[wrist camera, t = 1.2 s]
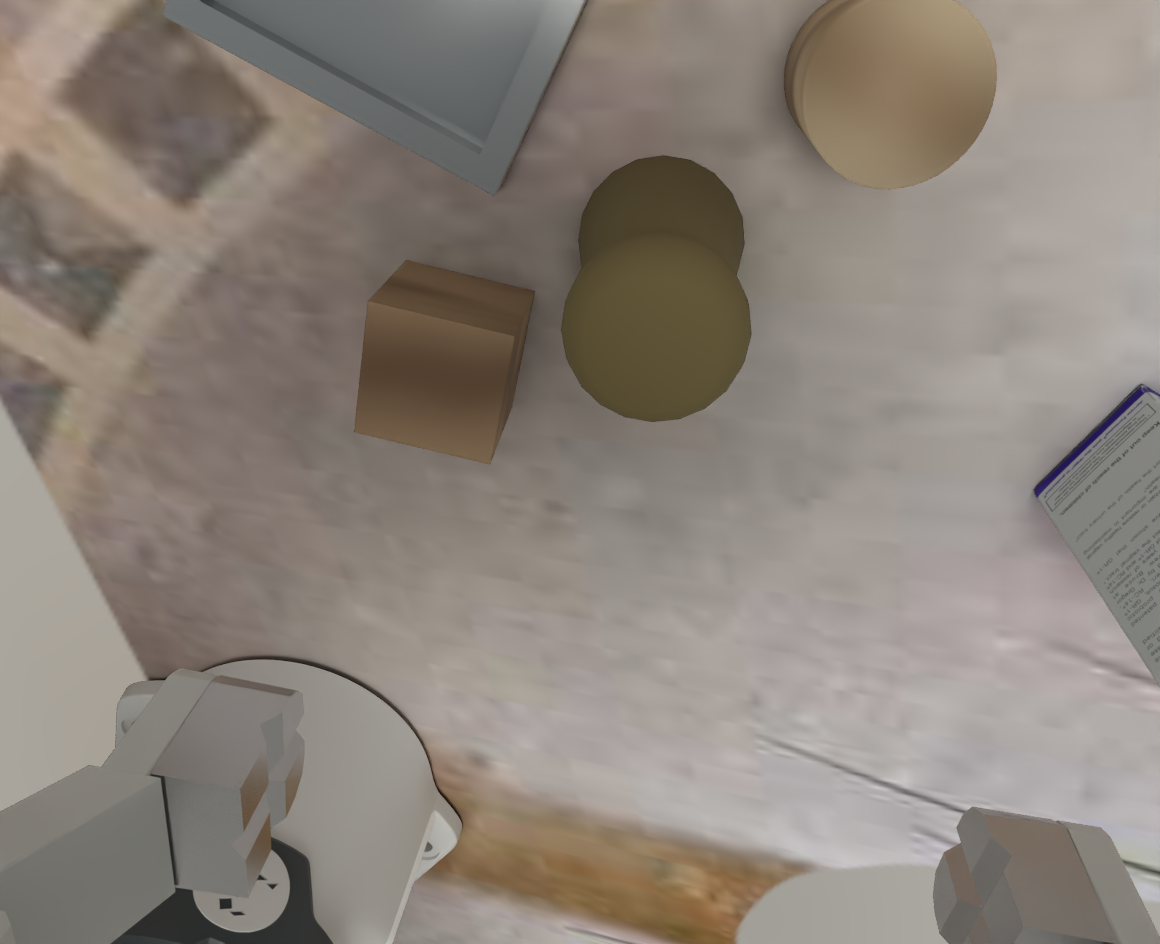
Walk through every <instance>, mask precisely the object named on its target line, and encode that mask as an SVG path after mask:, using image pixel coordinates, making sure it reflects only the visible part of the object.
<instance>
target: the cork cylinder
mask: <svg viewBox="0 0 1160 944" xmlns="http://www.w3.org/2000/svg"><path fill="white" fill-rule="evenodd" d="M996 81H997V72H996V61H995V55H994V51H993V48H992V45H991V42H990V39H989V37H988V35H987V33H986V31H985V29H984V28H983V26H982V25H981V24H980V22H979V21H978V19H977V18H976V17H975V16H974V15H973V14H972V13H971V12H970V11H969V10H967V9H966V8H965V7H963V6H962V5H961V4H959V3H957V2H955V1H953V0H829V1H828V2H826V3H825V4H823V5H822V6H821V7H819V8H818V9H817V10H816V11H815V12H814V13H813V14H812V15H811V16H810V17H809V18H808V19H807V21H806V22H805V23H804V24H803V26H802V27H801V29H800V30H799V32H798V33H797V35H796V37H795V39H794V41H793V43H792V45H791V48H790V50H789V53H788V56H787V61H786V65H785V72H784V90H785V97H786V101H787V104H788V108H789V110H790V112H791V115H792V117H793V118H794V120H795V122H796V124H797V125H798V126H799V128H800V129H801V130H802V131H803V133H804V134H805V135H806V137H807V138H808V139H809V141H810V142H811V143H812V144H813V146H814V147H815V148H816V150H817V151H818V152H819V154H820V155H821V156H822V157H823V159H824V160H825V161H826V162H827V164H828V165H829V166H830V167H832V168H833V169H834V170H835V171H836V172H837V173H839V174H840V175H842V176H843V177H844V178H846V179H848V180H850V181H852V182H854V183H857V184H860V185H863V186H866V187H871V188H877V189H896V188H904V187H908V186H913V185H916V184H919V183H921V182H924V181H926V180H929V179H931V178H933V177H935V176H937V175H938V174H940V173H941V172H943V171H944V170H946V169H948V168H949V167H950V166H951V165H952V164H954V163H955V162H956V161H957V160H958V159H959V158H960V157H961V156H962V155H963V154H964V153H965V152H966V151H967V150H968V149H969V148H970V146H971V145H972V144H973V143H974V141H975V140H976V138H977V137H978V135H979V134H980V132H981V131H982V129H983V127H984V125H985V123H986V121H987V119H988V116H989V113H990V110H991V108H992V105H993V100H994V96H995V91H996Z"/></svg>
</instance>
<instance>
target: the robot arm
mask: <svg viewBox="0 0 1160 944" xmlns="http://www.w3.org/2000/svg"><path fill="white" fill-rule="evenodd" d="M115 742H116V743H115V749H114V750H113V752H112V753H111V755H110V756H109V757H108V759H107V760H106V761H105V763H104V764H103V765H102V767H96V766H90V765H89V766H87V767H85V768H83V769H81V770H79V771H77V772H75V773H73V774H71V775H69V776H67V777H66V778H64V779H62V780H60V781H58V782H56V783H54V784H52V785H50V786H48V787H47V788H45V789H43V790H41V791H39V792H37V793H35V794H33V795H31V796H29V797H27V798H26V799H24V800H22V801H20V802H18V803H16V804H14V805H12V806H10V807H8V808H6V809H5V810H3V811H1V812H0V944H392V943H393V941H394V938H395V935H396V932H397V929H398V926H399V923H400V921H401V918H402V915H403V912H404V909H405V906H406V903H407V900H408V897H409V894H410V891H411V888H412V885H413V883H414V882H415V881H416V880H417V879H418V878H419V877H421V876H422V875H423V874H424V873H425V872H427V871H428V870H429V869H430V868H431V867H432V866H434V865H435V864H436V863H437V862H438V861H439V860H441V859H442V858H443V857H444V856H445V855H446V854H448V853H449V852H450V851H451V850H452V849H453V848H454V847H455V846H456V844H457V841H458V839H459V836H460V834H461V831H462V823H461V821H460V819H459V817H458V815H457V814H456V813H455V811H454V810H453V809H452V807H451V806H450V805H449V804H448V803H447V801H446V800H445V799H444V798H443V797H442V796H441V795H440V793H439V792H438V790H437V788H436V786H435V783H434V780H433V776H432V772H431V768H430V764H429V761H428V758H427V755H426V753H425V751H424V749H423V747H422V745H421V743H420V741H419V740H418V738H417V737H416V735H415V733H414V732H413V731H412V729H411V728H410V727H409V726H408V724H407V723H406V722H405V721H404V720H403V719H402V718H401V717H400V716H399V715H398V714H397V713H396V712H395V711H394V710H393V709H392V708H391V707H390V706H389V705H387V704H386V703H385V702H384V701H382V700H381V699H380V698H378V697H377V696H375V695H374V694H372V693H371V692H369V691H368V690H366V689H364V688H363V687H361V686H359V685H357V684H356V683H354V682H352V681H350V680H348V679H346V678H343V677H341V676H339V675H336V674H334V673H331V672H328V671H325V670H323V669H319V668H316V667H313V666H309V665H304V664H300V663H294V662H288V661H280V660H245V661H237V662H232V663H227V664H223V665H220V666H217V667H214V668H211V669H209V670H206V671H204V672H198V671H193V670H188V669H183V668H179V669H178V670H176V671H175V672H173V673H172V674H170V675H169V676H168V677H167V678H166V680H156V681H142V682H137V683H133V684H131V685H130V686H128V687H127V688H126V690H125V692H124V694H123V695H122V697H121V699H120V701H119V703H118V705H117V718H116V741H115ZM956 828H957V831H958V834H959V837H960V841H961V843H960V844H958V845H957V846H955V847H953V848H951V849H949V850H947V851H946V852H944V854H943V856H942V858H941V860H940V863H939V865H938V867H937V870H936V873H935V882H934V891H933V899H934V910H935V916H936V920H937V925H938V929H939V933H940V934H941V936H942V937H943V938H944V939H945V940H946V941H947V942H948V943H949V944H1160V936H1159V934H1158V932H1157V930H1156V928H1155V926H1154V924H1153V922H1152V920H1151V918H1150V916H1149V914H1148V912H1147V910H1146V908H1145V906H1144V904H1143V902H1142V900H1141V898H1140V896H1139V894H1138V892H1137V890H1136V888H1135V886H1134V884H1133V881H1132V879H1131V877H1130V875H1129V873H1128V871H1127V869H1126V867H1125V865H1124V863H1123V861H1122V859H1121V857H1120V855H1119V853H1118V851H1117V849H1116V847H1115V845H1114V843H1113V841H1112V839H1111V838H1110V836H1109V835H1108V834H1107V833H1106V832H1105V831H1104V830H1103V829H1102V828H1100V827H1094V826H1088V825H1082V824H1076V823H1069V822H1063V821H1053V820H1051V819H1045V818H1039V817H1033V816H1027V815H1021V814H1015V813H1008V812H1002V811H996V810H990V809H984V808H978V807H971V808H970V809H969V810H967V811H966V812H965V813H964V814H963V816H962V818H961V820H960V822H959V824H958V825H957V827H956Z"/></svg>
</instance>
